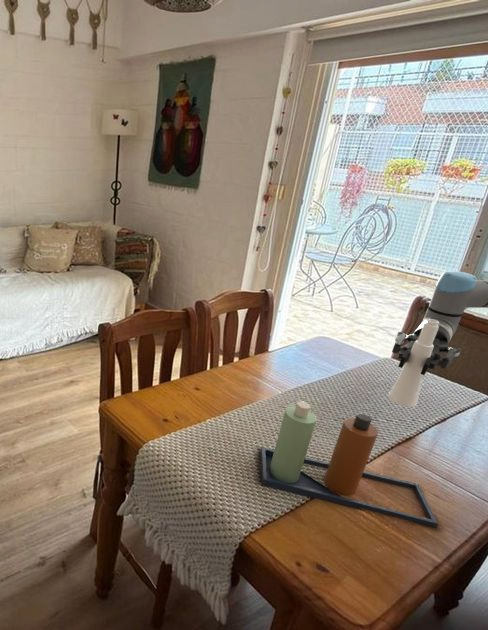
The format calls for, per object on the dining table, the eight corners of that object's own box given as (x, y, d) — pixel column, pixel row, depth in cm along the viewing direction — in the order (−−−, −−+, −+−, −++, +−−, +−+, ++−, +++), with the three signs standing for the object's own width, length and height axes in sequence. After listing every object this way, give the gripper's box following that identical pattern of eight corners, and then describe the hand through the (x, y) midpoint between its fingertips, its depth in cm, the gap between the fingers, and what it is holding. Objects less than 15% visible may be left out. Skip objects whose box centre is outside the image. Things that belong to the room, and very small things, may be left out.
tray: (414, 491, 95) (418, 483, 95) (434, 532, 86) (438, 523, 85) (259, 454, 105) (261, 446, 104) (261, 487, 95) (263, 479, 95)
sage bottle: (304, 475, 98) (325, 407, 90) (289, 487, 95) (310, 417, 87) (279, 460, 102) (297, 393, 95) (264, 470, 99) (282, 402, 92)
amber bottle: (360, 489, 94) (387, 419, 87) (346, 501, 91) (373, 430, 84) (331, 472, 99) (355, 404, 92) (318, 483, 96) (341, 414, 88)
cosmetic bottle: (390, 390, 114) (419, 313, 106) (418, 400, 110) (451, 321, 102) (385, 399, 110) (415, 320, 102) (414, 410, 106) (448, 328, 98)
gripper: (466, 360, 113) (452, 394, 98) (390, 338, 124) (367, 366, 109) (478, 334, 110) (465, 365, 95) (399, 314, 121) (376, 339, 106)
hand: (413, 365), depth 102 cm, fingers closed on cosmetic bottle, 4 cm apart
